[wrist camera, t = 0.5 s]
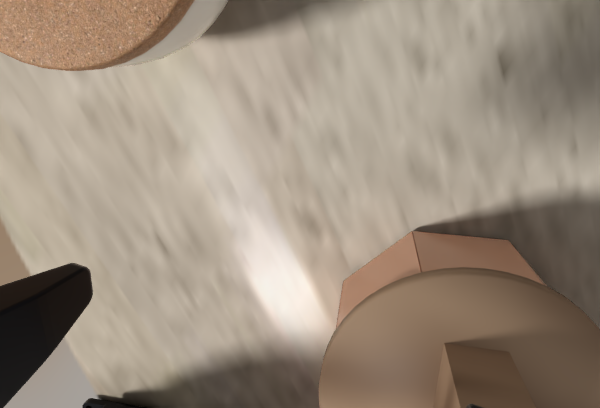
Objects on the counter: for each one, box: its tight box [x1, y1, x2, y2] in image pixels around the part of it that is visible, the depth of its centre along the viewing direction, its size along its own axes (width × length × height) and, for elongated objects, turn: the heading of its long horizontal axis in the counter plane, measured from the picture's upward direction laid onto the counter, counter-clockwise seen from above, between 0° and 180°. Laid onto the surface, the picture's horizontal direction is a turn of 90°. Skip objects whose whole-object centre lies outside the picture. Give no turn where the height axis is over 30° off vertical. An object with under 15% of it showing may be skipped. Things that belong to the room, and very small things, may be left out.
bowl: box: [336, 231, 548, 329], centre depth 20 cm, size 11×11×5 cm
